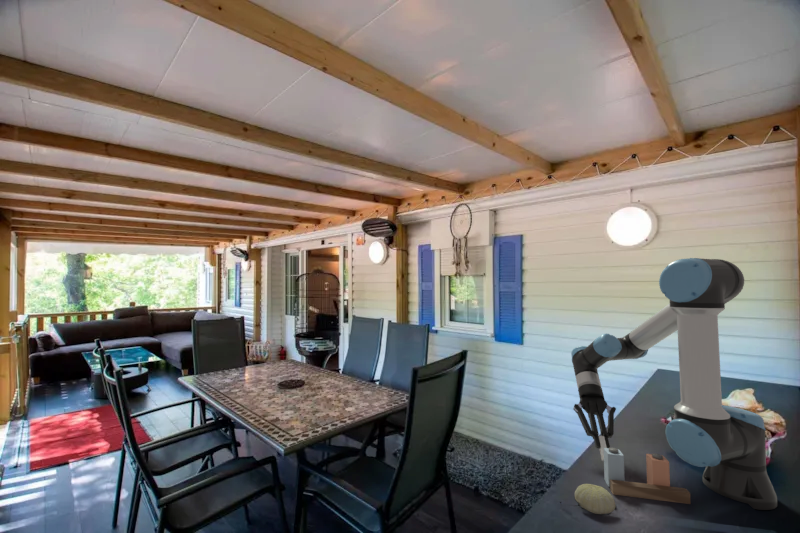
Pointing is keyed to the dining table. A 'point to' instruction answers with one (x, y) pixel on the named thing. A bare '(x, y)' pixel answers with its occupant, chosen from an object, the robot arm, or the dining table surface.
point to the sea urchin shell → (594, 499)
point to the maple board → (650, 491)
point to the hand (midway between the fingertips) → (605, 459)
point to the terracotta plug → (657, 470)
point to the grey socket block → (613, 465)
